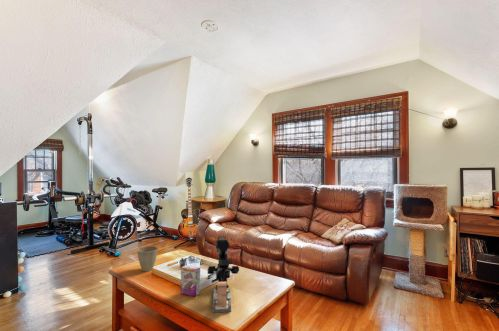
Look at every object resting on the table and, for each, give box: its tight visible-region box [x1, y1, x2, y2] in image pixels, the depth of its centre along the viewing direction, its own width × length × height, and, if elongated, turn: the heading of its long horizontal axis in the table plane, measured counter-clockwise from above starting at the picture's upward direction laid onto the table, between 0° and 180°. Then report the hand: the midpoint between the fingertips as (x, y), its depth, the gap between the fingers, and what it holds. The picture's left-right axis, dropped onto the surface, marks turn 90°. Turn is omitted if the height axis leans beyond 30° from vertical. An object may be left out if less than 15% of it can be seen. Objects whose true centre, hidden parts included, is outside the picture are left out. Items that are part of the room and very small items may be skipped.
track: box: [212, 288, 232, 313], centre depth 149 cm, size 20×10×4 cm, turn 5°
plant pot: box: [137, 245, 159, 272], centre depth 197 cm, size 15×15×16 cm
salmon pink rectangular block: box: [215, 281, 228, 310], centre depth 142 cm, size 7×7×12 cm
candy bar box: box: [180, 264, 201, 297], centre depth 159 cm, size 11×5×16 cm, turn 71°
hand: (223, 284), depth 151 cm, fingers closed
